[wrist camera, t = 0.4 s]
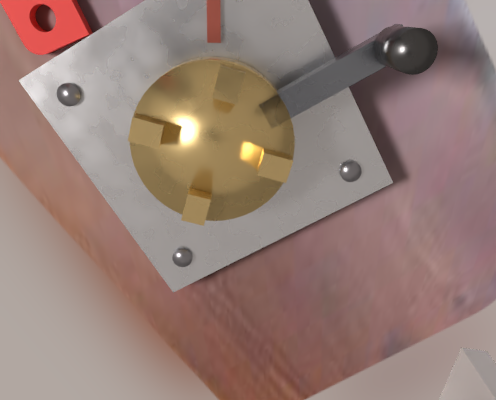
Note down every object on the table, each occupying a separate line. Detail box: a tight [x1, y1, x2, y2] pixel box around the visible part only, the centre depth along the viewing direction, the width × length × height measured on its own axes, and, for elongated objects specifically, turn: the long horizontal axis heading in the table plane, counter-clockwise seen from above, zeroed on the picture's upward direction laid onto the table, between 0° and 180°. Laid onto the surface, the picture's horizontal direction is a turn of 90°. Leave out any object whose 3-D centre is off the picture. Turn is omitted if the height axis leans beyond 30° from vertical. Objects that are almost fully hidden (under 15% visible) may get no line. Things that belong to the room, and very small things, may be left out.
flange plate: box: [19, 0, 393, 292], centre depth 35 cm, size 20×20×2 cm
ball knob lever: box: [128, 24, 438, 226], centre depth 30 cm, size 20×11×7 cm, turn 119°
